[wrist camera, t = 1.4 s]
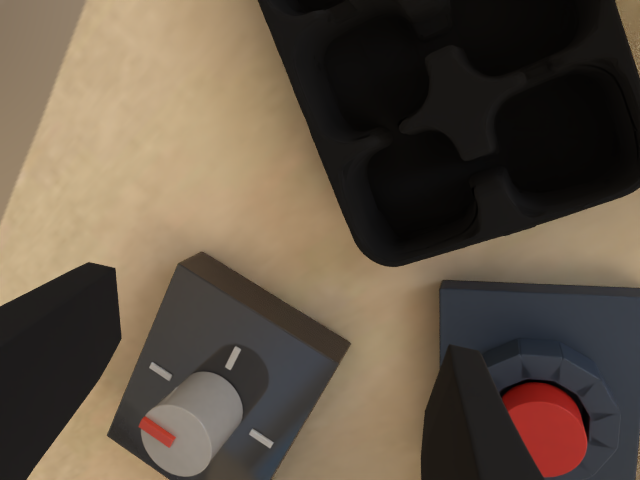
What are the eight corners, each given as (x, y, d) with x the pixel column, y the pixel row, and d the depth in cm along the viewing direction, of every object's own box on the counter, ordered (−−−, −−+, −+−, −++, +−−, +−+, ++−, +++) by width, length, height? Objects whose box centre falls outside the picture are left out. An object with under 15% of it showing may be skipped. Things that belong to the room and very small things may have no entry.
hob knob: (254, 397, 29) (220, 439, 26) (226, 449, 31) (190, 495, 27) (193, 357, 30) (151, 392, 26) (169, 410, 31) (126, 450, 28)
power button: (579, 458, 24) (585, 483, 23) (495, 447, 26) (495, 471, 24) (583, 385, 24) (590, 406, 22) (496, 377, 25) (496, 397, 23)
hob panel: (258, 500, 34) (240, 532, 32) (132, 413, 36) (104, 437, 33) (351, 342, 30) (338, 365, 27) (202, 250, 31) (175, 263, 29)
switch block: (626, 497, 27) (642, 545, 24) (442, 470, 30) (436, 510, 27) (644, 287, 25) (665, 313, 22) (441, 279, 27) (435, 301, 24)
